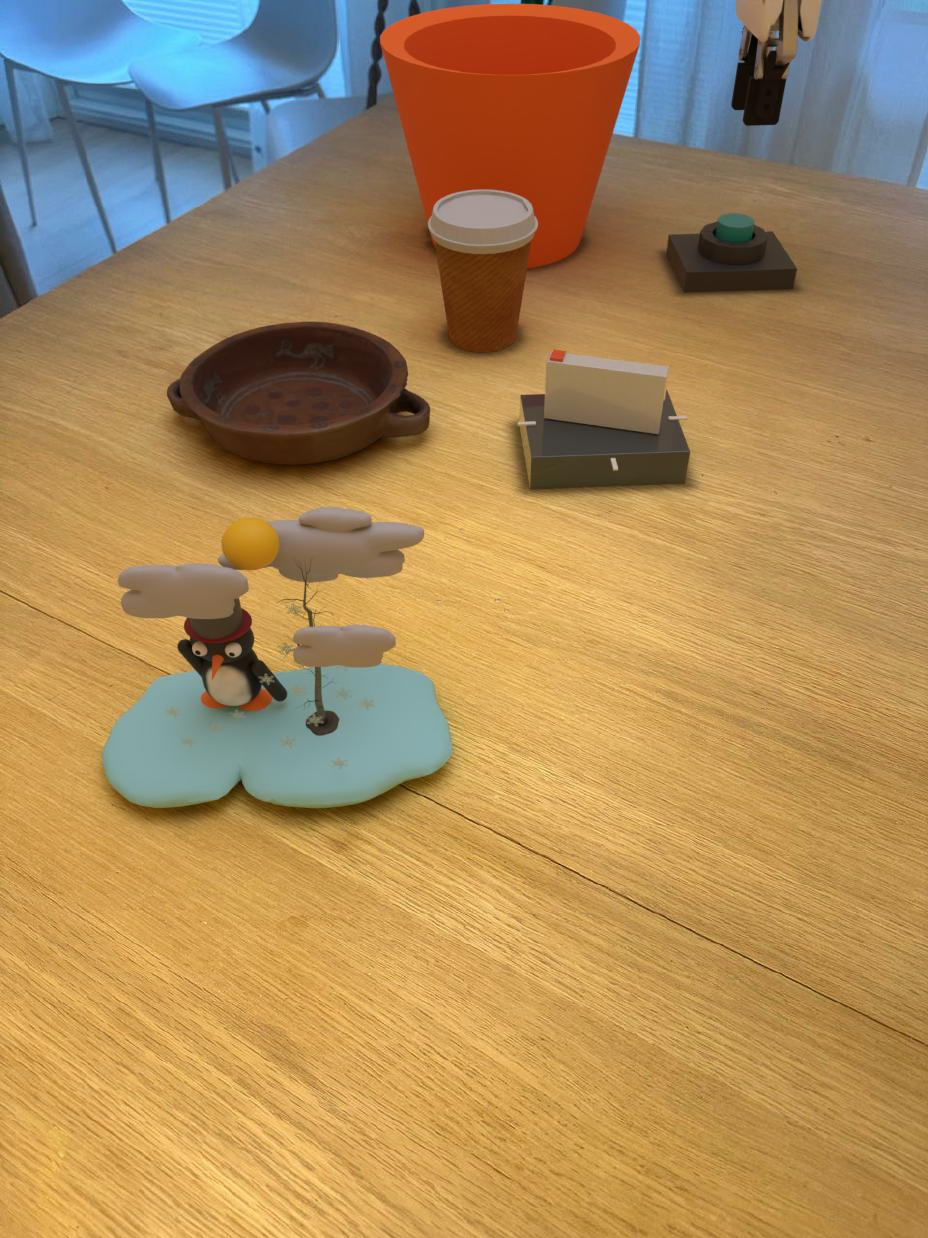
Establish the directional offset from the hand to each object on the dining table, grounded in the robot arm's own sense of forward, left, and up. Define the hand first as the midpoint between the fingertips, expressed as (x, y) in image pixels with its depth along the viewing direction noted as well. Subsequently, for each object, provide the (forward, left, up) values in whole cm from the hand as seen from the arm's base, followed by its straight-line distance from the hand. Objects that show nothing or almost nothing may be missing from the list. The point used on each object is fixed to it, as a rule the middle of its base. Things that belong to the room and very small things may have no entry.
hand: (754, 114), depth 98 cm
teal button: (0, 0, -12) cm, 12 cm away
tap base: (+18, +32, -15) cm, 40 cm away
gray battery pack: (+18, +32, -12) cm, 39 cm away
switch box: (0, 0, -15) cm, 15 cm away
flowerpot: (+22, -10, -15) cm, 29 cm away
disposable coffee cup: (+26, +12, -15) cm, 33 cm away
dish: (+42, +26, -15) cm, 52 cm away
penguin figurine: (+41, +61, -15) cm, 75 cm away
